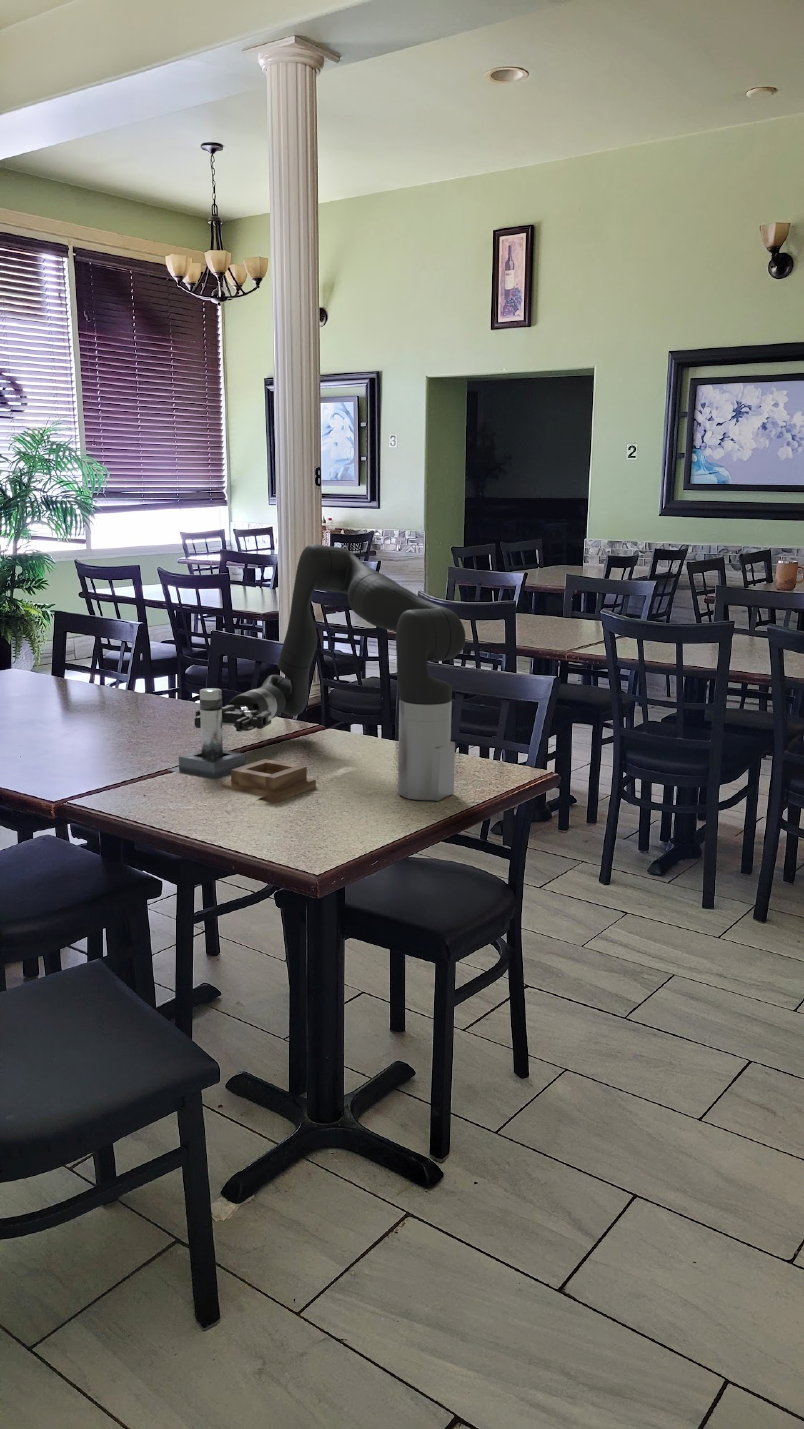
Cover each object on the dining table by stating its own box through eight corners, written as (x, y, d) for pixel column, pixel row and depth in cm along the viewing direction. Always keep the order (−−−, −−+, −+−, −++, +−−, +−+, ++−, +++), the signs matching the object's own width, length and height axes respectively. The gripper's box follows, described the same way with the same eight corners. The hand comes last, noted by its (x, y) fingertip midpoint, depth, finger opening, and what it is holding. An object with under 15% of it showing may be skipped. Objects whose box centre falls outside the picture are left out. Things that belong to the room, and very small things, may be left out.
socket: (257, 770, 200) (257, 753, 199) (215, 784, 190) (215, 766, 189) (209, 761, 206) (209, 744, 205) (166, 775, 196) (166, 757, 195)
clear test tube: (227, 767, 199) (226, 689, 195) (213, 771, 195) (211, 693, 192) (211, 763, 201) (209, 687, 198) (197, 768, 197) (194, 690, 194)
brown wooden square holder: (315, 787, 190) (315, 766, 189) (275, 803, 179) (274, 780, 179) (264, 777, 196) (263, 756, 195) (221, 792, 186) (221, 770, 185)
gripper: (220, 688, 215) (183, 702, 200) (284, 693, 211) (251, 708, 196) (221, 724, 216) (184, 740, 201) (285, 729, 212) (251, 746, 197)
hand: (217, 724), depth 198 cm, fingers open, 8 cm apart
